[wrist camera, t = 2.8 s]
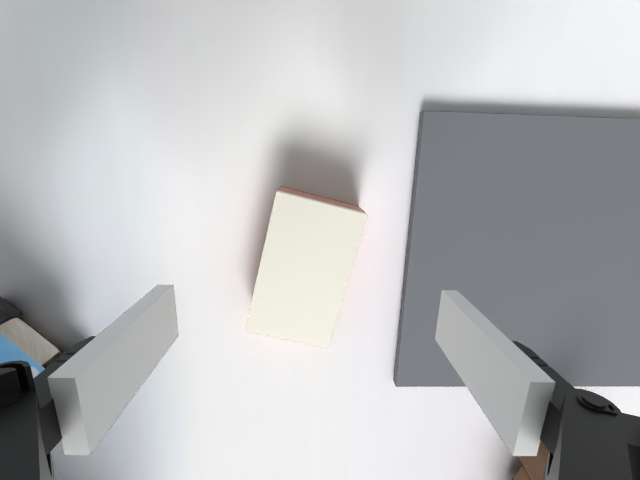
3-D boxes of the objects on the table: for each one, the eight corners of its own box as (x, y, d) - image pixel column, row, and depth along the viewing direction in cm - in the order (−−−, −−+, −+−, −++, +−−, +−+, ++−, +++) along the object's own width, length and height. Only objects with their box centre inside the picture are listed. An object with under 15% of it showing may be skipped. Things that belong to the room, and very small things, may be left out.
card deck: (254, 305, 26) (244, 331, 22) (281, 186, 24) (276, 191, 20) (324, 321, 27) (327, 349, 23) (358, 206, 24) (367, 214, 20)
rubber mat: (393, 380, 28) (395, 386, 27) (420, 112, 23) (424, 110, 22) (633, 380, 29) (642, 386, 28) (714, 123, 24) (727, 122, 23)
